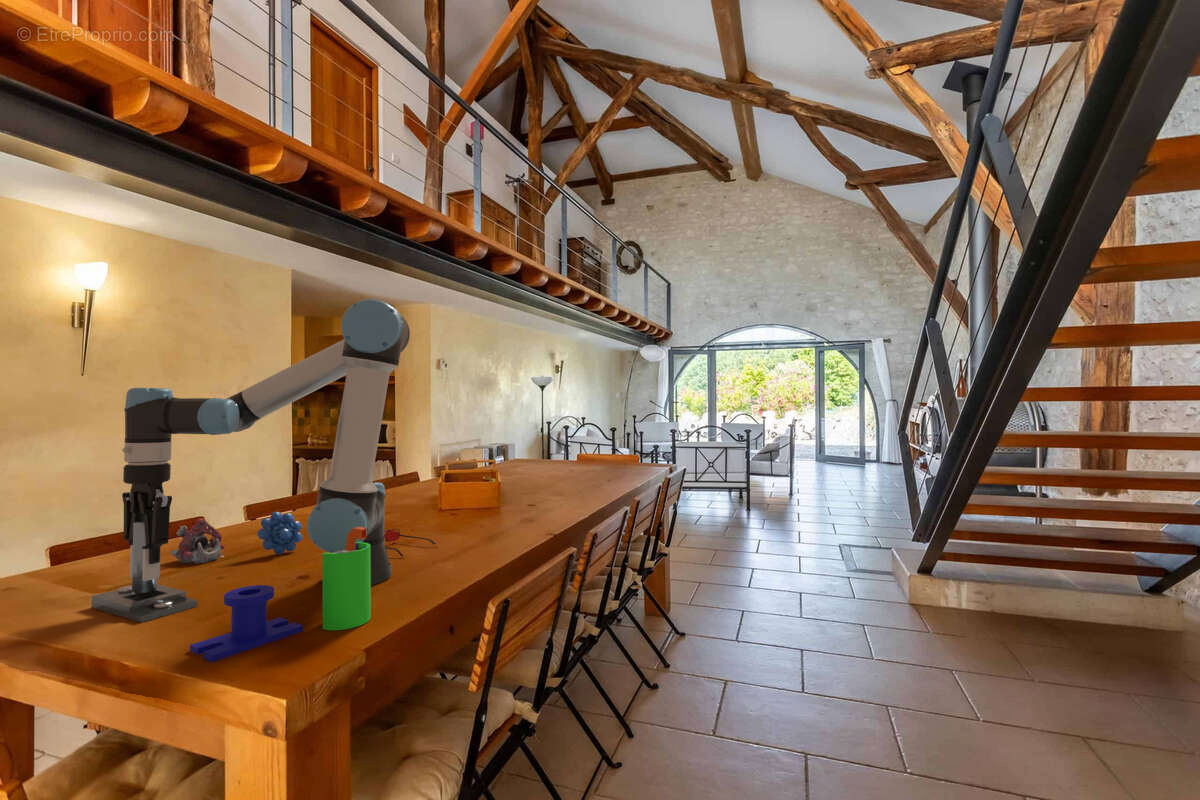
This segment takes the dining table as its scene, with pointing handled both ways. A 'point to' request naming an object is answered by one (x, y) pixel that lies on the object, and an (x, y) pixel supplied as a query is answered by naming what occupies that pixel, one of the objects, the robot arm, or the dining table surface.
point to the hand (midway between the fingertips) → (144, 577)
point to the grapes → (280, 532)
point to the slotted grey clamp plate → (143, 602)
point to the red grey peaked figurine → (198, 544)
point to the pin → (140, 561)
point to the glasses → (395, 535)
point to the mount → (246, 624)
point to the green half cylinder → (347, 584)
